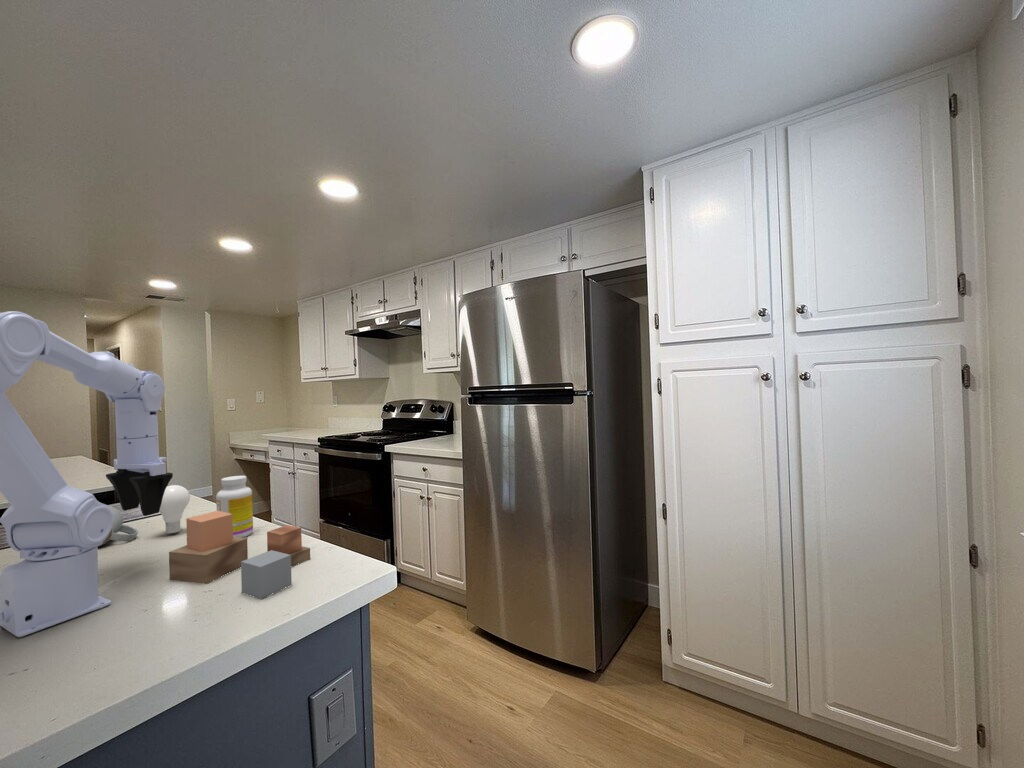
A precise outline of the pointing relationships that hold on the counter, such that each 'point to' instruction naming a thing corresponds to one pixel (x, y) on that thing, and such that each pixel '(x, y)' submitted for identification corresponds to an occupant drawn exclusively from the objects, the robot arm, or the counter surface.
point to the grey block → (266, 574)
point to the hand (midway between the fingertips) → (140, 511)
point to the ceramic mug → (120, 528)
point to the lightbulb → (174, 507)
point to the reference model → (288, 543)
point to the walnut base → (207, 562)
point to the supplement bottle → (237, 504)
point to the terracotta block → (209, 530)
